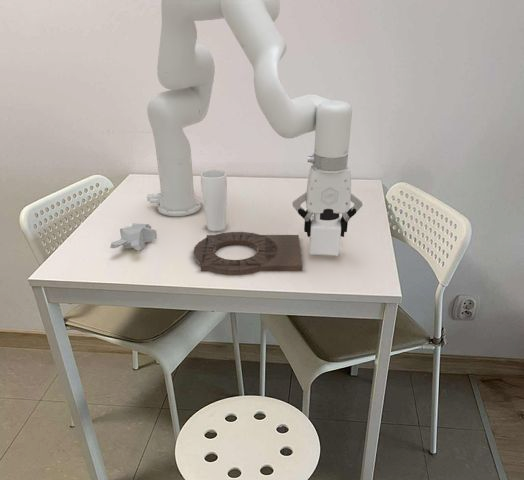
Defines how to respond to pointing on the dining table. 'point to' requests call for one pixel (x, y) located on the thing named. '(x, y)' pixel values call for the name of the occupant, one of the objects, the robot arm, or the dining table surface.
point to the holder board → (266, 259)
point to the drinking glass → (214, 198)
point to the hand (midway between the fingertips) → (325, 234)
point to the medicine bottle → (325, 233)
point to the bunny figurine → (135, 236)
